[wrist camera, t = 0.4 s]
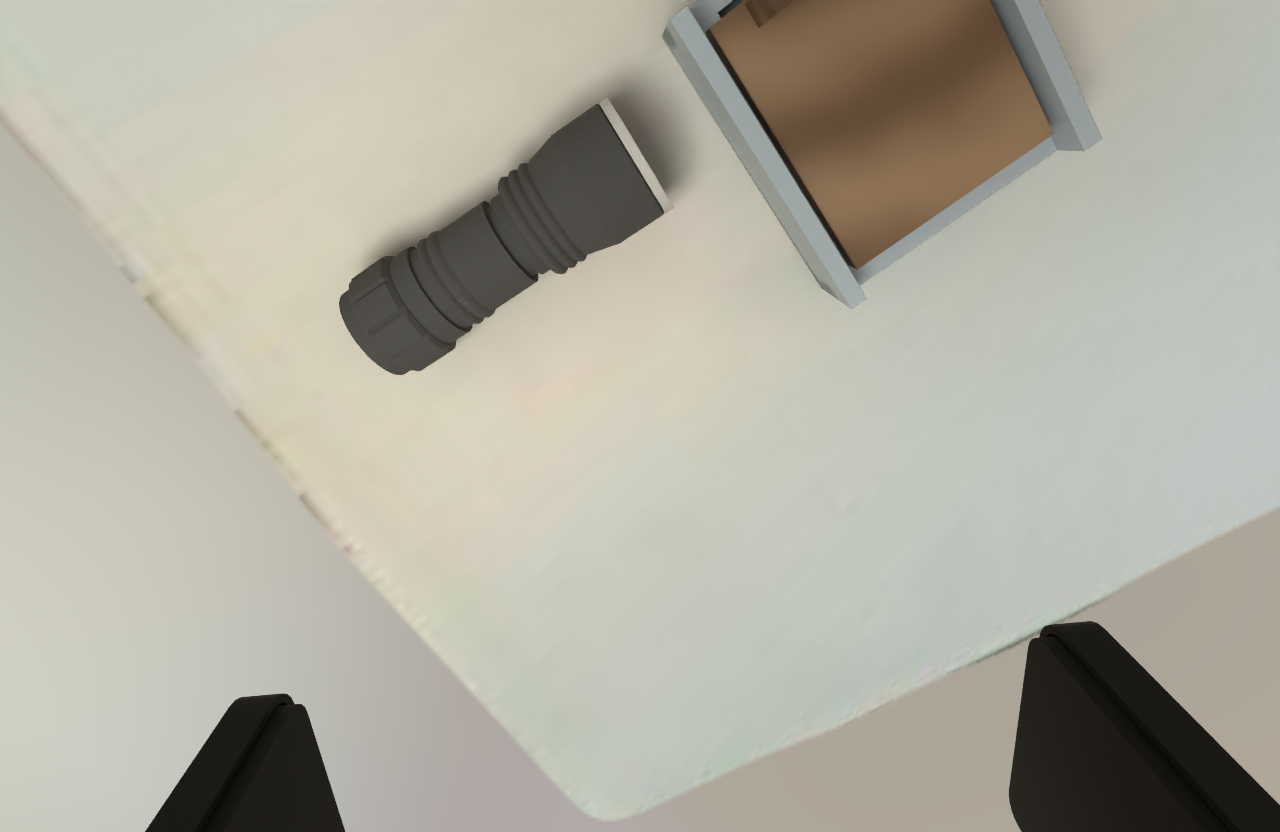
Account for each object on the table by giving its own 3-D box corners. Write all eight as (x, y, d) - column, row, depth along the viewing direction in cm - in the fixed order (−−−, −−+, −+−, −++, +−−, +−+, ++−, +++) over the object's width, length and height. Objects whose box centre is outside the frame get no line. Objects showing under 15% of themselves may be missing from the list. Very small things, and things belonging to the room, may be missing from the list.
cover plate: (705, 32, 30) (721, 13, 26) (910, -131, 28) (964, -181, 24) (848, 265, 34) (884, 284, 29) (1038, 134, 32) (1106, 133, 27)
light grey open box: (661, 37, 33) (669, 19, 28) (895, -151, 30) (946, -204, 26) (821, 287, 37) (851, 309, 32) (1036, 139, 35) (1102, 138, 30)
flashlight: (420, 368, 38) (389, 402, 33) (351, 280, 36) (307, 303, 31) (669, 202, 35) (678, 212, 30) (608, 99, 34) (606, 92, 29)
